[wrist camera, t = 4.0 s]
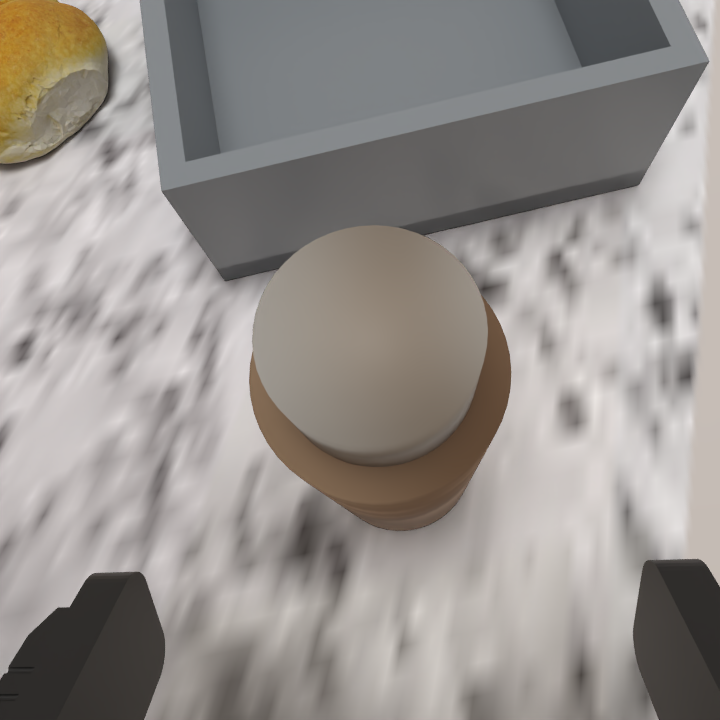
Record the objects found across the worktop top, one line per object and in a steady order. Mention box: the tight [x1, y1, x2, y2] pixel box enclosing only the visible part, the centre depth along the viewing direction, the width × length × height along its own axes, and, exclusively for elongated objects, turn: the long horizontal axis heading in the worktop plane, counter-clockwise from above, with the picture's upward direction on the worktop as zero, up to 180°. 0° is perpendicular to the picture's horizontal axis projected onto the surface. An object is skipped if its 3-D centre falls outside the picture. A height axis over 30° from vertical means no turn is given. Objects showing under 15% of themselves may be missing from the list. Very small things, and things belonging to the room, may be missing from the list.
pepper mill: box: [249, 225, 511, 531], centre depth 15 cm, size 5×5×12 cm
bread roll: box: [0, 0, 108, 164], centre depth 26 cm, size 8×9×4 cm
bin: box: [140, 0, 709, 281], centre depth 23 cm, size 16×16×6 cm
